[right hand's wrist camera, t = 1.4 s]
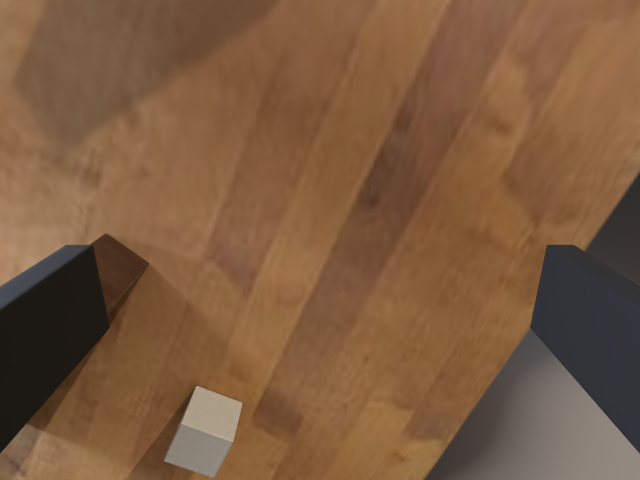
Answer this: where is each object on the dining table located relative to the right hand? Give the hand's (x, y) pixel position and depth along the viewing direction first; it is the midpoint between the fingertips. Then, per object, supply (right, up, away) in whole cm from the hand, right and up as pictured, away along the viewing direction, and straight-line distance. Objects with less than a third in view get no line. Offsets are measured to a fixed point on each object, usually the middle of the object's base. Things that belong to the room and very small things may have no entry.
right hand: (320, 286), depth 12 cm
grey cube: (-11, -16, +30) cm, 36 cm away
